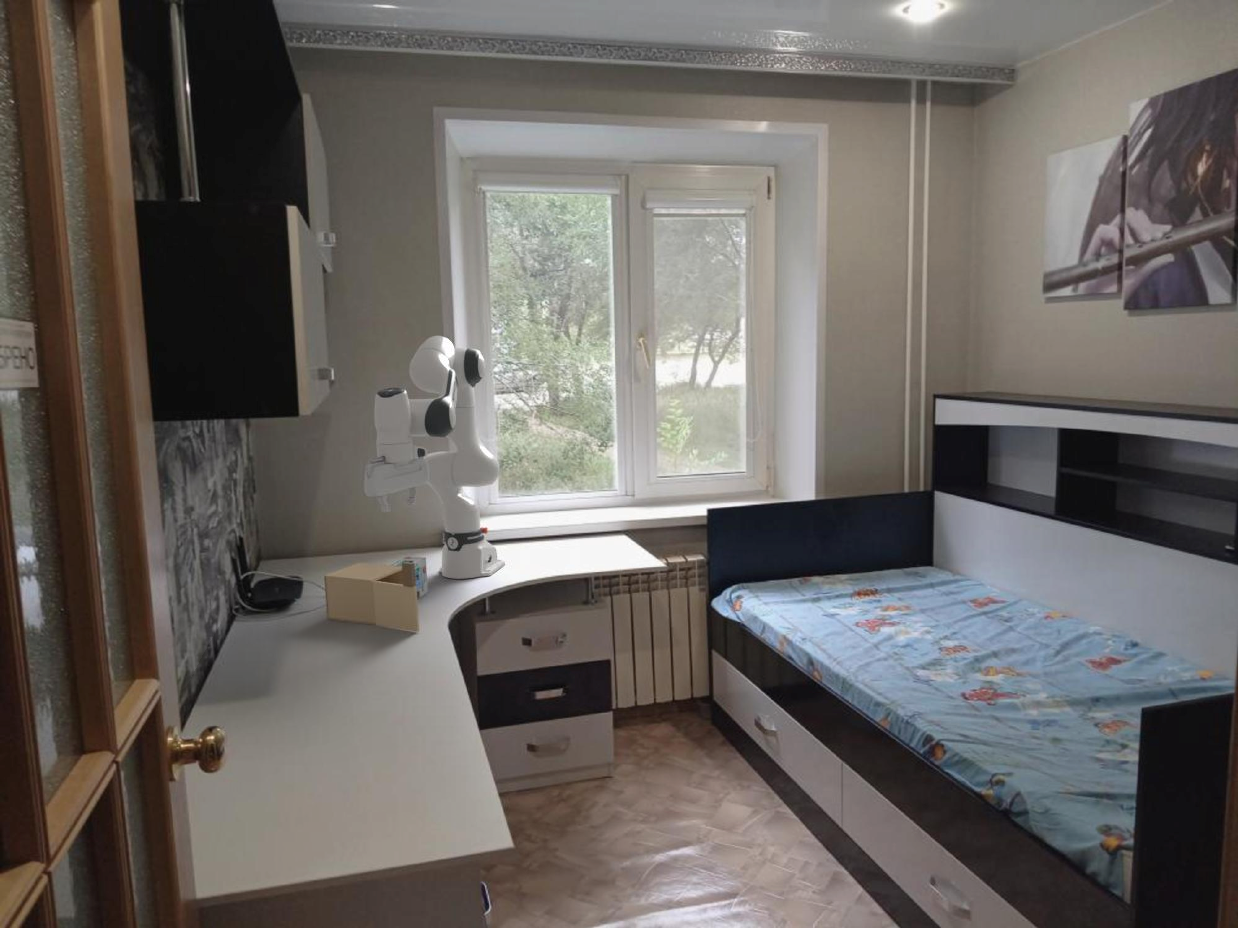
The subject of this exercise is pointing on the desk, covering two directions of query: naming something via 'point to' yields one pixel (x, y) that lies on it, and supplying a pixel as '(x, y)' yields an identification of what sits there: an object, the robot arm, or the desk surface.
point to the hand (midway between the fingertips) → (399, 507)
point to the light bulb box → (417, 573)
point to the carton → (357, 591)
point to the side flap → (397, 601)
